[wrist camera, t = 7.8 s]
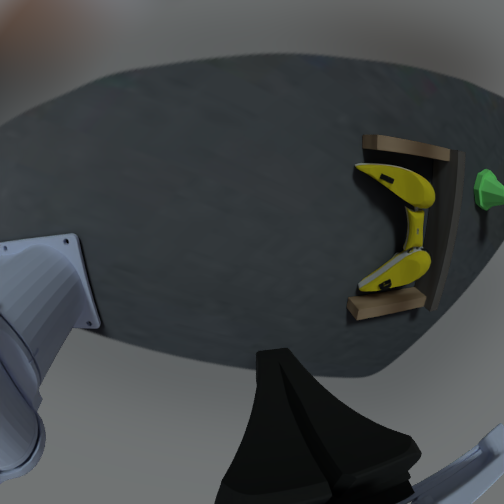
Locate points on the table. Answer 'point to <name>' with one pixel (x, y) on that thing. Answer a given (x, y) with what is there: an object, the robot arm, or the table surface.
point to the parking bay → (437, 232)
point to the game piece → (488, 190)
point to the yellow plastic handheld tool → (414, 255)
